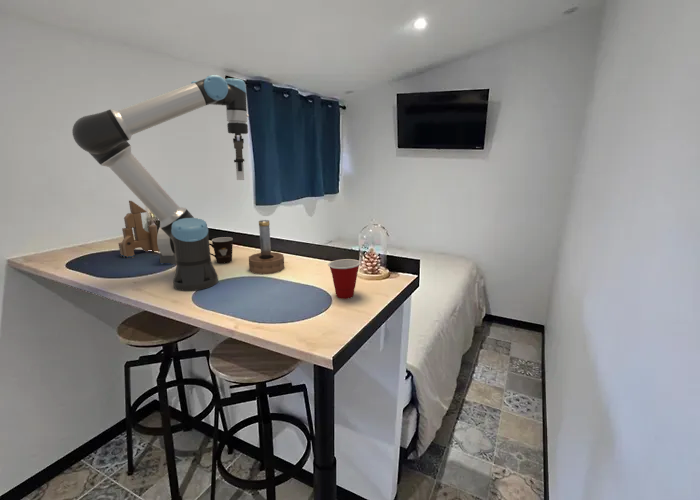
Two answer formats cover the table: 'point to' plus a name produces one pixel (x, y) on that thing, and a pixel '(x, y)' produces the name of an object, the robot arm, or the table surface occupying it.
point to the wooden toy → (137, 233)
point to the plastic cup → (344, 276)
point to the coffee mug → (222, 249)
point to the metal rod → (265, 239)
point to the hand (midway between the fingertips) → (240, 178)
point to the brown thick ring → (266, 263)
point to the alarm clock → (165, 247)
